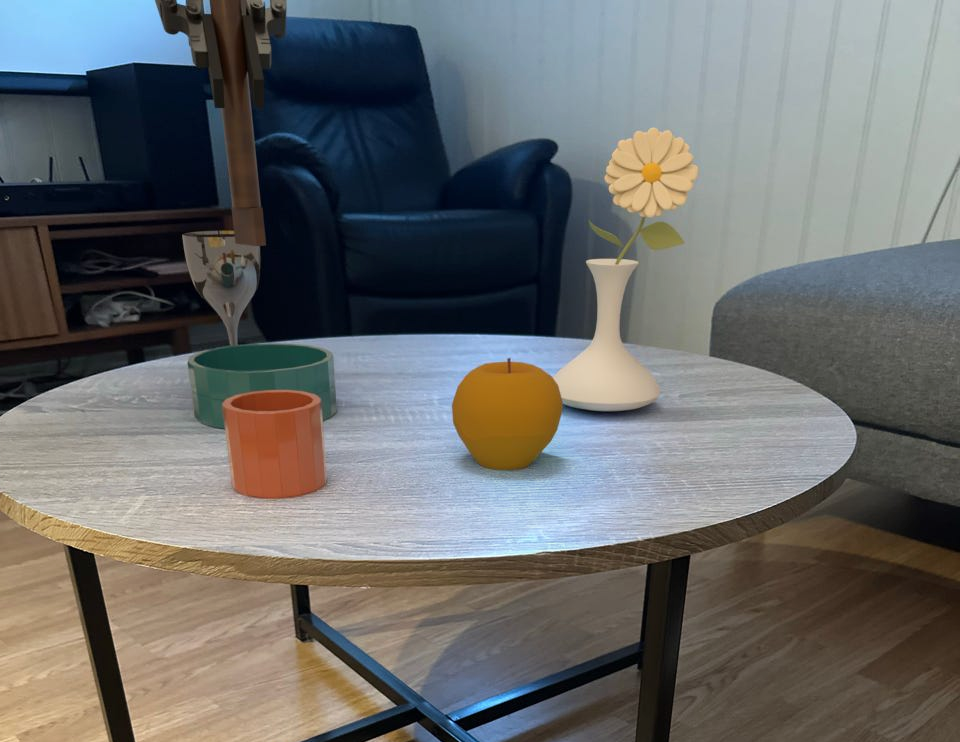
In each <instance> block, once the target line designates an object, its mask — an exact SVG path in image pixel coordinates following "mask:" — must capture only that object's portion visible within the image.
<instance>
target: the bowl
mask: <svg viewBox="0 0 960 742" xmlns="http://www.w3.org/2000/svg"><path fill="white" fill-rule="evenodd" d="M334 362H335V361H334V355H333V352H332V351H330V350H328V349H326V348H323V347H319V346H314V345H309V344H301V343H300V344H299V343H285V342H283V343H282V342H281V343H279V342H276V343H275V342H274V343H273V342H268V343H267V342H266V343H263V342H261V343H245V344H237V345H232V346H230V345H227V346H220V347H214V348H209V349H206V350H202V351H198V352H195V353H194V354H192V355H190V356H189V357H188V358H187V369H188V377H189V383H190V391H191V398H192V405H193V412H194V418H195V420H197V421H198V422H199V423H200V424H203V425H206V426H209V427H212V428H215V429H224V430H225V425H224V417H223V409H222V403H223V402H224V401H225V399H227V398H230V397H232V396H235V395H238V394H243V393H248V392H254V391H265V390H294V391H304V392H308V393H312V394H315V395H317V396H318V397H320V398H321V404H322V417H323V422H324V421H326V420H329V419H330V418H332V417H333V416H334V415H335V414H336V413H337V412H338V406H337V405H338V404H337V391H336V376H335V363H334Z"/></svg>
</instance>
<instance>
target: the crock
mask: <svg viewBox="0 0 960 742" xmlns="http://www.w3.org/2000/svg"><path fill="white" fill-rule="evenodd" d="M222 409H223V417H224V425H225V429H224V433H225V439H226V447H227V449H226V450H227V457H228V464H229V473H230V481H231V487H232V488H233V490H234V491H235V492H236V493H238V494H240V495H242V496H246V497H250V498H255V499H268V500H269V499H270V500H271V499H272V500H274V499H276V500H277V499H289V498H296V497H301V496H302V497H303V496H306V495H308V494H312V493H315V492H317V491H319V490H321V489H322V488H324V487H325V486H326V484H327V480H328V474H327V473H328V472H327V458H326V447H325V445H326V444H325V432H324V421H323V417H322V404H321V398H320V397H318V396H317V395H315V394H312V393H308V392H304V391H294V390H265V391H254V392H248V393H243V394H238V395H235V396H232V397H230V398H227V399H225V401H224V402H223V403H222Z"/></svg>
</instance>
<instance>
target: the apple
mask: <svg viewBox="0 0 960 742" xmlns="http://www.w3.org/2000/svg"><path fill="white" fill-rule="evenodd" d="M506 360H507V361H496V362H495V361H494V362H485V363H483V364H481V365H478V366H477V367H475V368H473V369H471V370H470V371H469V372H468V373H467V374H466V375H465V376H464V377H463V378H462V380H461V381H460V383H459V384H458V386H457V388H456V390H455V394H454V396H453V399H452V403H451V412H452V413H451V415H452V424H453V426H454V428H455V431H456V433H457V436H458V437H459V439H460V440H461V442H462V443H463V444H464V446H465V447H466V449H467V451H468V452H469V454H470V455H471V457H473V459H474V460H475V461H476V462H477V464H479V466H481V467H483V468H485V469H490V470H496V471H515V470H523V469H526V468H528V467H529V466H531V464H532V463H533V462H534V461H535V460H536V459H537V458H538V457H539V456H540V454H541V453H542V452H543V451H544V450H545V449H546V448H547V447H548V445H549V444H550V443H551V442H552V440H553V439H554V437H555V435H556V433H557V431H558V429H559V426H560V421H561V418H562V414H563V411H564V408H563V405H564V404H563V403H562V398H561V394H560V390H559V386H558V384H557V383H556V382H555V380H554V379H553V376H552V375H551V374H549V373H548V372H546V371H545V370H544V369H542V368H541V367H539V366H537V365H534V364H531V363H528V362H522V361H511V357H507V359H506Z"/></svg>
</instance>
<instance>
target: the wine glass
mask: <svg viewBox="0 0 960 742" xmlns="http://www.w3.org/2000/svg"><path fill="white" fill-rule="evenodd" d="M181 236H182V245H183V250H184V251H183V252H184V258H185V262H186V266H187V269H188V273H189V276H190V278H191V281H192V284H193V286H194V289H195V290H196V292H197V293H198V294H199V296H200V297H201V298H202V299H203V300H204V301H205V302H206V303H207V304H208V305H209V306H210V308H212V309H213V310H214V311H215V312H216V314H217V315H218V316H219V318H220V319H221V321H222V323H223V325H224V327H225V330H226V334H227V338H228V343H229V346H232V345H238V327H239V323H240V319H241V317H242V314H243V312H244V311H245V309H246V308H247V306H248V305H249V303H250V302H251V300H252V299H253V297H254V296H255V295H256V292H257V290H258V289H259V284H260V279H261V267H262V265H261V263H262V254H261V246H250V245H242V244H236V243H235V235H234V230H203V231H192V232H185V233H182V235H181Z"/></svg>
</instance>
